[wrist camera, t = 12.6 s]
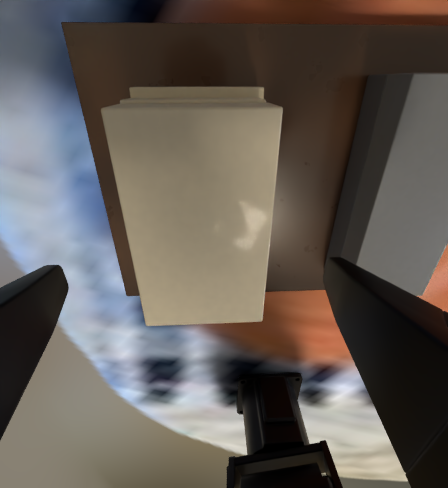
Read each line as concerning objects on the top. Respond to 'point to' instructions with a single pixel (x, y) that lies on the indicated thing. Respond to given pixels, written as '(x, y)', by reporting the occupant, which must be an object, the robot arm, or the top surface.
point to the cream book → (197, 205)
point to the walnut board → (275, 92)
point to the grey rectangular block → (397, 181)
